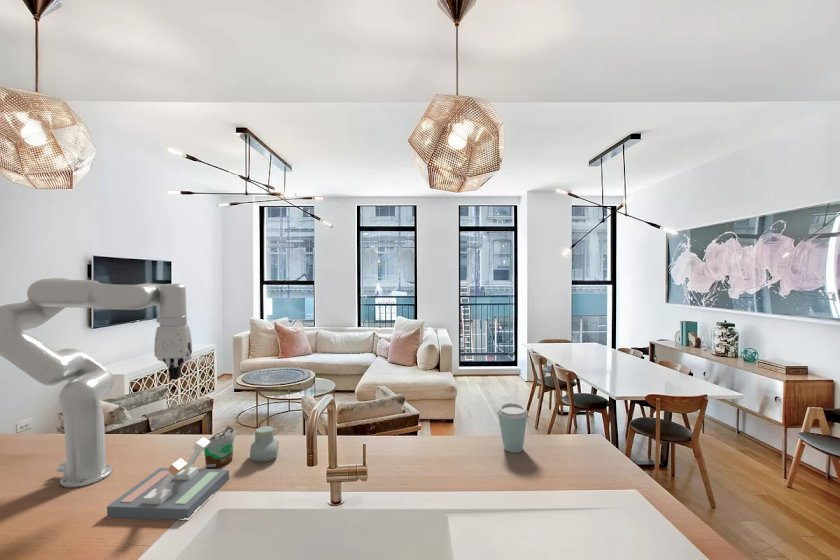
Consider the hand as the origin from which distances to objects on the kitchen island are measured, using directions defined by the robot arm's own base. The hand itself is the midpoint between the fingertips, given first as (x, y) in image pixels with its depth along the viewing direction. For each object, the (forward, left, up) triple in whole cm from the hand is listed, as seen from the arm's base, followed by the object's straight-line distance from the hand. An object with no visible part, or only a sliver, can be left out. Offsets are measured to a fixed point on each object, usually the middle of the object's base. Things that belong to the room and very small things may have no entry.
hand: (175, 378), depth 133 cm
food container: (+14, +3, -29) cm, 33 cm away
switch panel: (+10, -17, -29) cm, 35 cm away
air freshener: (+26, +7, -29) cm, 40 cm away
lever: (+10, -11, -25) cm, 29 cm away
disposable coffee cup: (+111, +18, -29) cm, 116 cm away
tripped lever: (+10, -23, -25) cm, 35 cm away
